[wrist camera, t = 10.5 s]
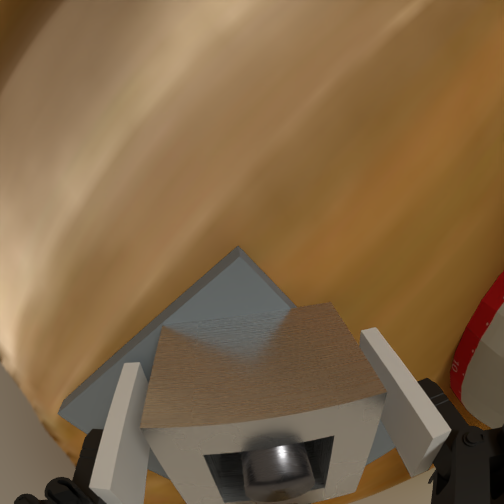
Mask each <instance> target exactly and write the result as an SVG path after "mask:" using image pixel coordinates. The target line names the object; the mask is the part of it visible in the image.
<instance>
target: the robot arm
mask: <svg viewBox="0 0 504 504" xmlns="http://www.w3.org/2000/svg"><path fill="white" fill-rule="evenodd" d="M359 347H360V348H361V350H362V352H363V353H364V355H365V356H366V358H367V360H368V361H369V363H370V364H371V366H372V368H373V369H374V371H375V372H376V374H377V376H378V377H379V379H380V380H381V382H382V384H383V385H384V387H385V389H386V390H387V395H386V399H385V403H384V407H383V411H382V414H381V418H380V419H381V421H382V423H383V425H384V426H385V428H386V430H387V432H388V434H389V436H390V438H391V439H392V441H393V443H394V445H395V447H396V449H397V451H398V453H399V455H400V457H401V458H402V460H403V462H404V464H405V466H406V468H407V470H408V472H409V474H410V476H411V478H412V477H414V476H416V475H419V474H421V473H423V472H425V471H428V470H429V468H430V466H431V465H432V463H433V464H434V466H435V467H436V470H435V472H434V473H433V474H432V476H431V478H430V479H429V482H428V483H429V484H430V483H431V482H432V480H433V479H434V480H433V491H432V499H431V504H504V424H503V426H502V427H499V428H495V429H490V430H482V429H480V428H479V427H476V426H469V425H468V424H467V423H466V421H465V420H464V419H463V417H462V416H461V415H460V413H459V412H458V411H457V409H456V408H455V407H454V405H453V404H452V403H451V401H449V400H448V398H447V396H446V395H445V394H444V392H443V391H442V390H441V388H440V387H439V386H438V385H437V384H436V383H435V382H433V381H431V380H430V379H428V378H426V379H423V380H420V381H416V380H415V378H414V377H413V376H412V374H411V373H410V371H409V370H408V369H407V367H406V366H405V365H404V363H403V362H402V361H401V359H400V358H399V357H398V355H397V354H396V353H395V352H394V350H393V349H392V348H391V346H390V345H389V344H388V342H387V341H386V340H385V338H384V337H383V336H382V335H381V333H380V332H379V331H378V329H377V328H376V327H374V328H370V329H366V330H361V335H360V345H359ZM148 385H149V384H148V382H147V379H146V377H145V374H144V372H143V369H142V366H141V364H140V362H135V363H124V366H123V369H122V372H121V375H120V378H119V381H118V384H117V387H116V390H115V394H114V397H113V400H112V403H111V407H110V410H109V413H108V417H107V420H106V424H105V427H104V429H92V430H91V431H90V432H89V433H88V435H87V436H86V437H85V440H84V443H83V446H82V450H81V452H80V458H79V459H78V463H77V466H76V470H75V473H74V477H73V480H72V481H71V480H70V479H69V478H64V477H58V478H55V479H53V480H51V481H50V482H49V483H48V484H47V486H46V488H45V497H46V498H47V499H48V500H38V499H37V498H36V497H35V496H33V495H31V494H22V495H20V496H19V497H17V499H16V500H15V501H14V504H143V503H144V493H145V484H146V475H147V467H148V459H149V452H150V446H149V444H148V442H147V440H146V439H145V437H144V435H143V433H142V431H141V429H140V424H141V419H142V414H143V409H144V404H145V399H146V394H147V390H148Z"/></svg>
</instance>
